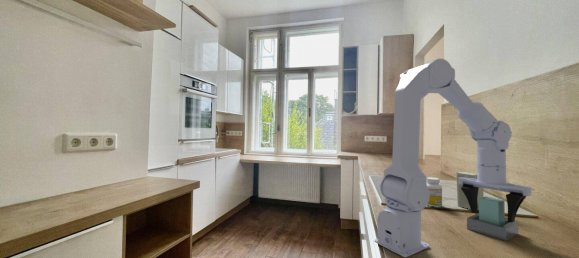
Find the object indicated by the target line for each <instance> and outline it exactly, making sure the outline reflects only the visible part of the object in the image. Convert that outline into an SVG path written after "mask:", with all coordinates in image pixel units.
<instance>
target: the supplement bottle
mask: <svg viewBox="0 0 579 258" xmlns="http://www.w3.org/2000/svg"><path fill="white" fill-rule="evenodd" d="M440 182H441V181H440V178H438V177H431V176H430V177H429V176H428V177H427V187H428V190H429V194H430V196H429V201H428V204H427V205H426V206H428V205H429V207H431V206H434V207H433V208H442V207H443V187H442V185H441V184H440ZM441 206H442V207H441Z"/></svg>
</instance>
